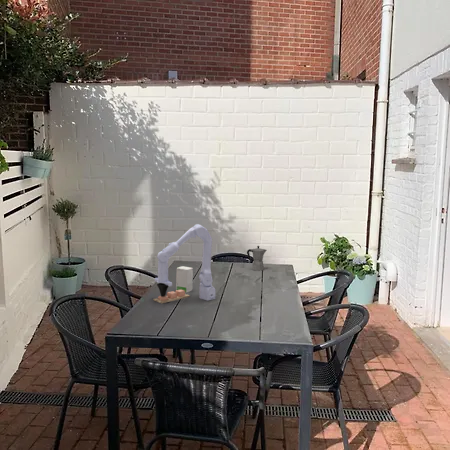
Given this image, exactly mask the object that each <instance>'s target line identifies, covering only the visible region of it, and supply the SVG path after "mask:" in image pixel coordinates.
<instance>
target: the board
mask: <svg viewBox="0 0 450 450" xmlns="http://www.w3.org/2000/svg"><path fill="white" fill-rule="evenodd" d="M190 297H191V296H190V295H189V294H186V293H185V296H182V297H178V296H177V298H173V299H170V298H168V300H164V301H161V300H159V299H158V297H157V298H153V301H154V302H157V303H159V304H165V303H168V302H175V301H179V300H184V299H187V298H190Z"/></svg>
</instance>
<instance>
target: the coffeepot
mask: <svg viewBox="0 0 450 450" xmlns="http://www.w3.org/2000/svg"><path fill="white" fill-rule="evenodd" d="M251 252H252V258H251V254H250V253H251ZM266 252H267V249H265V248H260V245H257V247H256V248H249V249H247V250H246V254H247V257H248V260H249V261H252V266H251V270H252V271H254V272H259V271H260V272H261V271H264V270H265V266H264V261H263V259H264V255H265V253H266Z"/></svg>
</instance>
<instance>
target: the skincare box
mask: <svg viewBox="0 0 450 450" xmlns="http://www.w3.org/2000/svg"><path fill="white" fill-rule="evenodd" d="M193 269H194V268H193V267H191V266H190V267H189V266H183V265H182V266H179V267H177V268H176V276H175V277H176V279H175V281H176V282H175V291H176V290H184V291H185V294H186V293H190V292H191V291H193V278H194V277H193V275H194V270H193Z"/></svg>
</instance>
